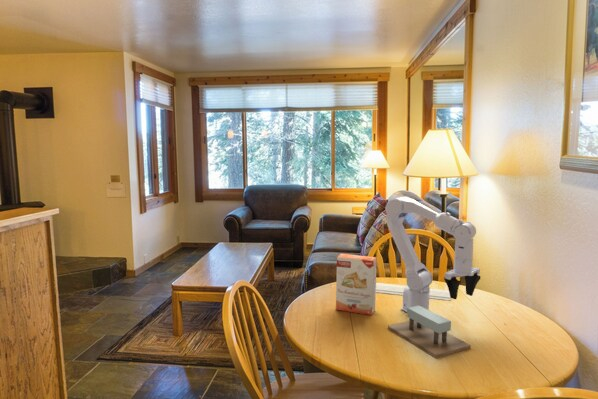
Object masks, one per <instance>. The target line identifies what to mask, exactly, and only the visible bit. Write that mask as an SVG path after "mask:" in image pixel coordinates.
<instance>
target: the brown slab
mask: <svg viewBox="0 0 598 399" xmlns="http://www.w3.org/2000/svg"><path fill="white" fill-rule="evenodd" d="M408 319H409V320H406V321H402V322H399V323H394V324H390V325H387V329H388V330H390V331H391V332H393V333H394V334H396V335H398V336H400V337H401V338H403V339H404V340H406V341H407V342H409V343H410V344H412V345H414V346H416V347H417V348H419V349H420V350H422V351H423V352H425V353H427V354H428V355H430V356H432V357H433V358H435V359H438V358H441V357H442V358H443V357H445V356H449V355H453V354H456V353H458V352H462V351H466V350H468V349H469V350H470V349H471V346H472V345H471V344H469V343H468V342H466V341H464V340H462V339H460V338H458V337H456V336H454V335H452V334H450V333H449V332H448V331H446V332H442V333H439V334H438V333H437V332H435V331H433V330H431V329H429V328H427V327H425V326H424V325H422V324H420V323H418V322H416V321H414V320H412V319H411V318H409V317H408Z"/></svg>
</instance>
